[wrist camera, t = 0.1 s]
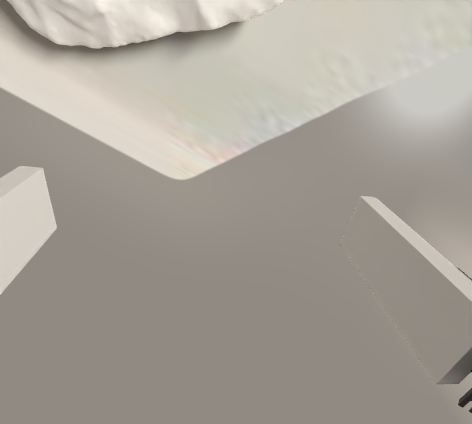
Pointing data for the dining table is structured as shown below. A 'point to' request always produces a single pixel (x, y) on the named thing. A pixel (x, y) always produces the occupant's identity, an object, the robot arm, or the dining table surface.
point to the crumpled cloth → (131, 18)
